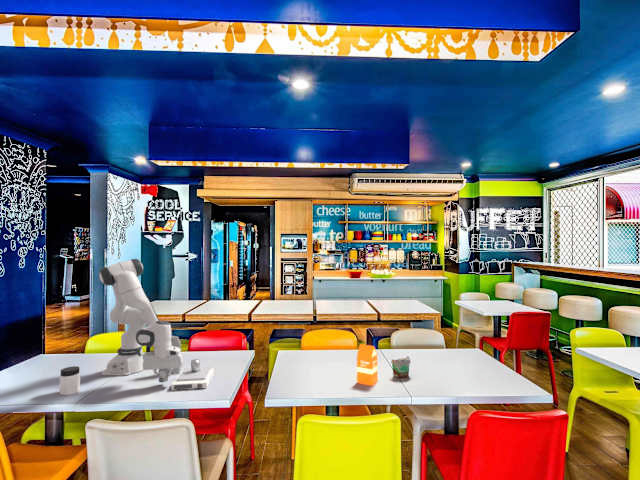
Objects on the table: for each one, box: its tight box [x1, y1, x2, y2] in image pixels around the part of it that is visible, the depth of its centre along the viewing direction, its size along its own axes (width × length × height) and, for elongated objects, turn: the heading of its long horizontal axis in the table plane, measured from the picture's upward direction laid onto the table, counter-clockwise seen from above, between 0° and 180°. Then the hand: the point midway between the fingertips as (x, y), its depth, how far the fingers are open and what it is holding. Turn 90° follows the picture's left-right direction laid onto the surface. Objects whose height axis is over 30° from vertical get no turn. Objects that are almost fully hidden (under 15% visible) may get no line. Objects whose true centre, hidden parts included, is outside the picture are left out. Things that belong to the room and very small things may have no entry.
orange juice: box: [356, 343, 378, 386], centre depth 197 cm, size 8×9×20 cm
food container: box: [390, 355, 411, 379], centre depth 203 cm, size 12×6×10 cm, turn 117°
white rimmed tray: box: [170, 366, 215, 391], centre depth 199 cm, size 18×22×4 cm
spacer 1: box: [158, 369, 169, 383], centre depth 195 cm, size 5×5×6 cm
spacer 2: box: [190, 358, 201, 372], centre depth 205 cm, size 5×5×6 cm
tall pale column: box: [168, 335, 182, 375], centre depth 213 cm, size 11×4×22 cm, turn 93°
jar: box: [59, 365, 81, 396], centre depth 187 cm, size 9×8×12 cm
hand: (163, 376), depth 195 cm, fingers closed on spacer 1, 5 cm apart
